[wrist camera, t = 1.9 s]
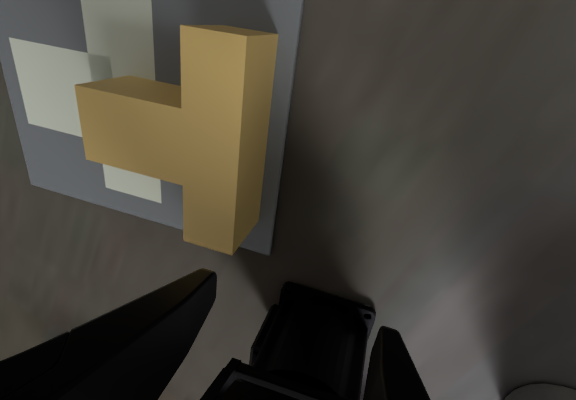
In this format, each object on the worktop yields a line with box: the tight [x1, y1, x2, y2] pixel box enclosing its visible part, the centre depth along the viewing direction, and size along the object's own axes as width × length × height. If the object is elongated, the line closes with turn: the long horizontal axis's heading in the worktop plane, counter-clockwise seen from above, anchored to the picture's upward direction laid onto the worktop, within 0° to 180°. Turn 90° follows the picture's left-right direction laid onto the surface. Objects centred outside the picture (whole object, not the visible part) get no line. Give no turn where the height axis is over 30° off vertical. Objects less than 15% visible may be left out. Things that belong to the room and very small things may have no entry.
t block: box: [74, 25, 278, 255], centre depth 19 cm, size 9×11×4 cm
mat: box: [0, 0, 304, 256], centre depth 22 cm, size 20×16×1 cm
